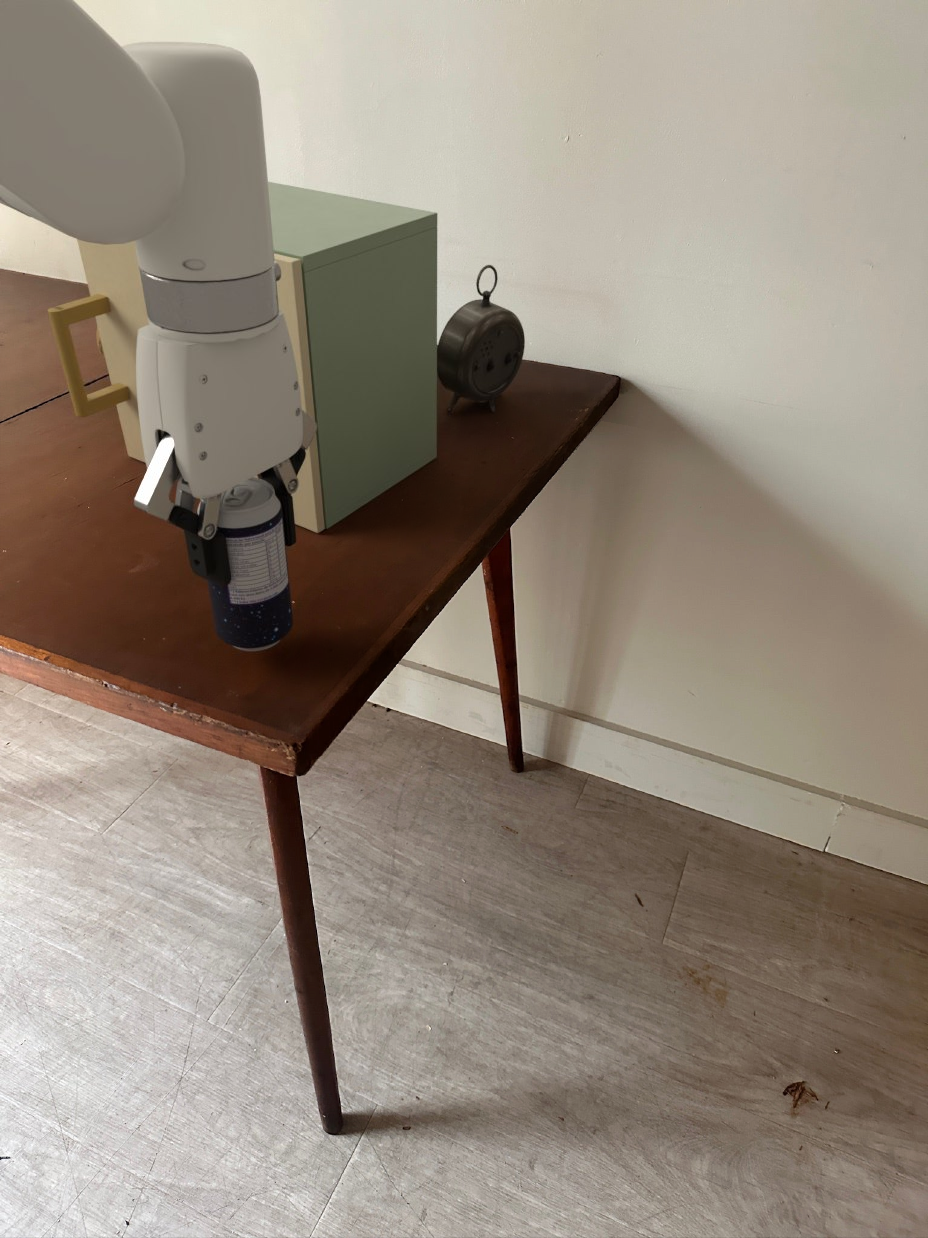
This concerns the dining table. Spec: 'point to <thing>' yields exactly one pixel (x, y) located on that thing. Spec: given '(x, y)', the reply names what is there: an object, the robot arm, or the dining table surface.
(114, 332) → the cupboard door
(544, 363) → the dining table surface
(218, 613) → the beverage can
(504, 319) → the alarm clock
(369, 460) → the cupboard
